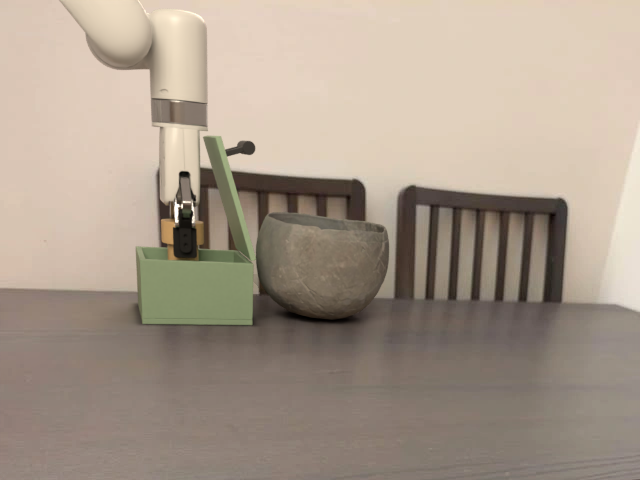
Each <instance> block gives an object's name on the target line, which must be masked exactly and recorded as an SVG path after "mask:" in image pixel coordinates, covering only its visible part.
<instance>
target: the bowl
mask: <svg viewBox="0 0 640 480" xmlns="http://www.w3.org/2000/svg"><path fill="white" fill-rule="evenodd" d="M261 223H262V224H261V226H260V229H259V231H258V234H257V238H256V244H255V256H256V260H255V265H256V271H257V277H258V280H259V282H260V285H261V287H262V288H263V290H264V291H265V292H266V293H267V295H268V296H269V297H270V299H272V300H273V302H275V303H276V304H277V305H278V306H280V307H281V308H283V309H284V310H286V311H289V312H290V313H293V314H296V315H299V316H302V317H307V318H313V319H321V320H340V319H345V318H349V317H351V316H354V315H356V314H358V313H360V312H361V311H362V310H364V309H366V307H368V306H369V305H370V304H371V303H372V302H373V300H374V299H375V297H376V296H377V295H378V293H379V291H380V289H381V287H382V286H383V284H384V282H385V279H386V276H387V273H388V269H389V261H390V239H389V234H388V230H387V228H386V226H384V225H383V224H380V223H375V222H370V221H365V220H357V219H356V220H354V219H346V218H344V219H340V218H334V217H328V216H321V215H315V214H310V213H309V214H308V213H300V212H288V211H280V212H278V211H274V212H269V213H267V214H266V215H265V217H264V219H263V220H262V222H261Z"/></svg>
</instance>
